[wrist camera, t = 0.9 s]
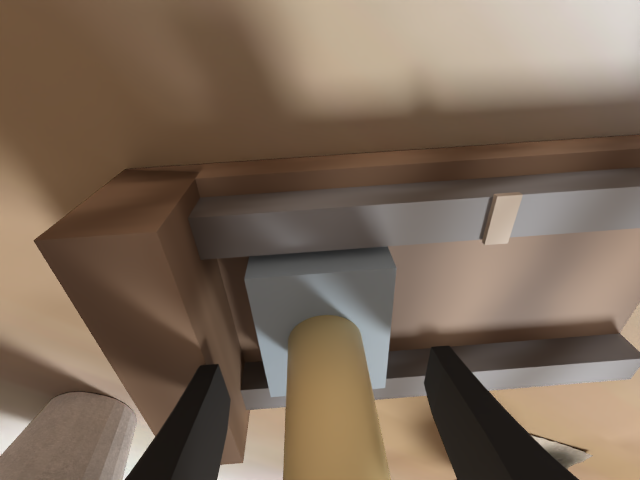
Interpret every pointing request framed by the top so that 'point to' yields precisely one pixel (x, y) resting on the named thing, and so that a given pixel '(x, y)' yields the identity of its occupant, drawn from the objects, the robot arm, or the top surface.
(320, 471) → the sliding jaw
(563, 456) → the condiment
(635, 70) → the top surface
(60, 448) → the house plant
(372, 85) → the top surface
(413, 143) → the top surface
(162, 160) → the top surface
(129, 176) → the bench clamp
